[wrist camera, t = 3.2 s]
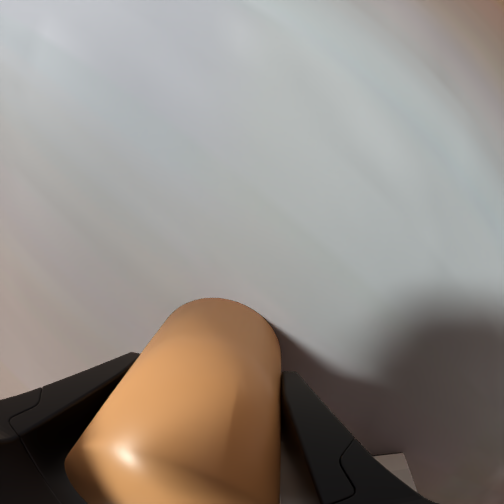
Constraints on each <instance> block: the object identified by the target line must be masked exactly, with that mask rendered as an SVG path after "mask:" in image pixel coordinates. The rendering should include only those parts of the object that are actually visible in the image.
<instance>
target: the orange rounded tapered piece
mask: <svg viewBox="0 0 504 504" xmlns="http://www.w3.org/2000/svg"><path fill="white" fill-rule="evenodd" d="M64 465H65V471H66V474H67V477H68V479H69V481H70V483H71V484H72V486H73V487H74V489H75V490H76V491H77V493H78V494H79V495H80V496H81V497H82V498H83V499H84V500H85V501H86V502H87V503H88V504H280V467H281V349H280V344H279V341H278V338H277V336H276V334H275V332H274V331H273V329H272V327H271V326H270V325H269V324H268V322H267V321H266V320H265V319H264V318H263V317H262V316H261V315H259V314H258V313H257V312H255V311H254V310H252V309H251V308H249V307H247V306H245V305H243V304H240V303H238V302H235V301H231V300H228V299H221V298H204V299H198V300H194V301H191V302H189V303H186V304H184V305H182V306H181V307H179V308H178V309H176V310H175V311H174V312H173V313H172V314H171V315H170V316H169V317H168V318H167V320H166V321H165V322H164V324H163V325H162V326H161V328H160V329H159V330H158V332H157V333H156V334H155V336H154V337H153V338H152V339H151V341H150V342H149V343H148V345H147V346H146V347H145V349H144V350H143V351H142V353H141V354H140V355H139V357H138V358H137V359H136V361H135V362H134V364H133V365H132V366H131V368H130V369H129V370H128V372H127V373H126V374H125V376H124V377H123V378H122V380H121V381H120V382H119V384H118V385H117V387H116V388H115V389H114V391H113V392H112V393H111V395H110V396H109V397H108V399H107V400H106V402H105V403H104V404H103V406H102V407H101V408H100V410H99V411H98V413H97V414H96V415H95V417H94V418H93V420H92V421H91V422H90V424H89V425H88V427H87V428H86V429H85V431H84V432H83V434H82V435H81V436H80V438H79V439H78V441H77V442H76V443H75V445H74V446H73V448H72V449H71V451H70V452H69V453H68V455H67V457H66V458H65V463H64Z"/></svg>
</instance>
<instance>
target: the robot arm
mask: <svg viewBox="0 0 504 504" xmlns="http://www.w3.org/2000/svg"><path fill="white" fill-rule="evenodd" d="M139 355H140V354H139V353H134V352H130V353H128V354H125V355H123V356H120V357H118V358H115V359H113V360H110V361H108V362H105V363H103V364H100V365H98V366H95V367H93V368H90V369H88V370H85V371H83V372H80V373H78V374H75V375H72V376H70V377H67V378H64V379H62V380H59V381H56V382H54V383H51V384H48V385H46V386H43V387H42V388H41V387H40V388H37V389H35V390H32V391H29V392H26V393H23V394H20V395H17V396H13V397H10V398H6V399H2V400H0V504H88V503H87V502H86V501H85V500H84V499H83V498H82V497H81V496H80V495H79V494H78V493H77V491H76V490H75V489H74V487H73V486H72V484H71V483H70V481H69V479H68V477H67V474H66V471H65V465H64V463H65V458H66V457H67V455H68V453H69V452H70V451H71V449H72V448H73V446H74V445H75V443H76V442H77V441H78V439H79V438H80V436H81V435H82V434H83V432H84V431H85V429H86V428H87V427H88V425H89V424H90V422H91V421H92V420H93V418H94V417H95V415H96V414H97V413H98V411H99V410H100V408H101V407H102V406H103V404H104V403H105V402H106V400H107V399H108V397H109V396H110V395H111V393H112V392H113V391H114V389H115V388H116V387H117V385H118V384H119V382H120V381H121V380H122V378H123V377H124V376H125V374H126V373H127V372H128V370H129V369H130V368H131V366H132V365H133V364H134V362H135V361H136V359H137V358H138V357H139ZM280 501H281V504H438V503H435V502H432V501H430V500H428V499H426V498H424V497H423V496H421V495H420V494H419V493H417V492H416V491H415V490H413V489H412V488H411V487H409V486H408V485H407V484H405V483H404V482H403V481H402V480H400V479H399V478H398V477H396V476H395V475H394V474H393V473H391V472H390V471H389V470H388V469H386V468H385V467H384V466H383V465H382V464H381V463H379V462H378V461H377V460H376V459H375V458H374V457H373V456H372V455H371V454H370V453H369V452H368V451H367V450H366V449H365V448H364V447H363V446H362V445H361V444H360V443H359V442H358V441H357V440H356V439H354V436H353V435H352V434H351V433H350V432H349V431H348V430H347V429H346V428H345V427H344V425H343V424H342V423H341V422H340V421H339V420H338V419H337V418H336V417H335V415H334V414H333V413H332V412H331V411H330V410H329V409H328V408H327V407H326V405H325V404H324V403H323V402H322V401H321V400H320V399H319V397H318V396H317V395H316V394H315V393H314V392H313V391H312V389H311V388H310V387H309V386H308V385H307V384H306V383H305V381H304V380H303V379H302V378H301V377H300V376H299V374H298V373H297V372H288V371H283V372H282V374H281V467H280Z"/></svg>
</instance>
